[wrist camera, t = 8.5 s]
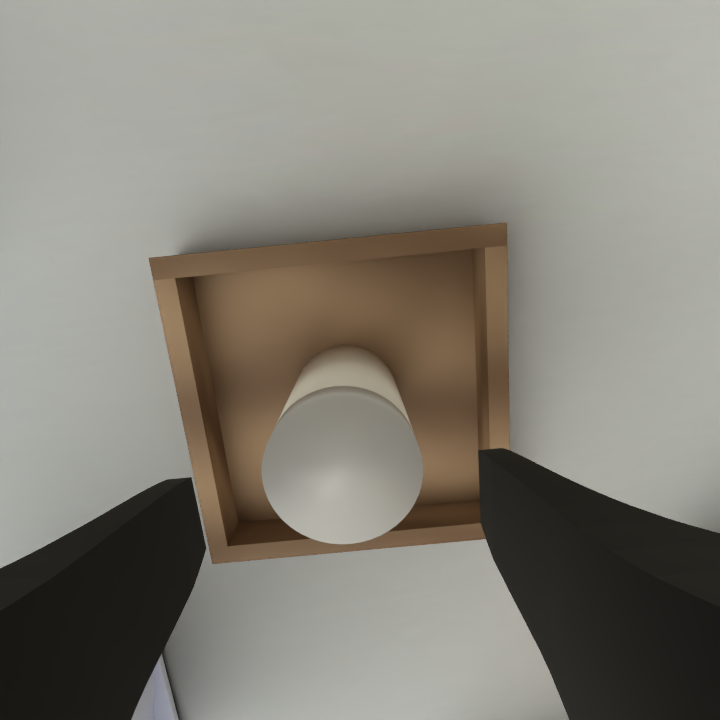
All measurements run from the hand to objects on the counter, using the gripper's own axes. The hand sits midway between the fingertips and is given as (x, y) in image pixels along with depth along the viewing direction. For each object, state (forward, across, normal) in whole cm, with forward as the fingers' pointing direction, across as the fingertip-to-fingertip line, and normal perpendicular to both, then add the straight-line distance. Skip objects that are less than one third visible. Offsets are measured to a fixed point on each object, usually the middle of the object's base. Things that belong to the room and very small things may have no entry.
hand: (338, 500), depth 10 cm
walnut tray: (+9, 0, 0) cm, 9 cm away
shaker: (+8, 0, 0) cm, 8 cm away
